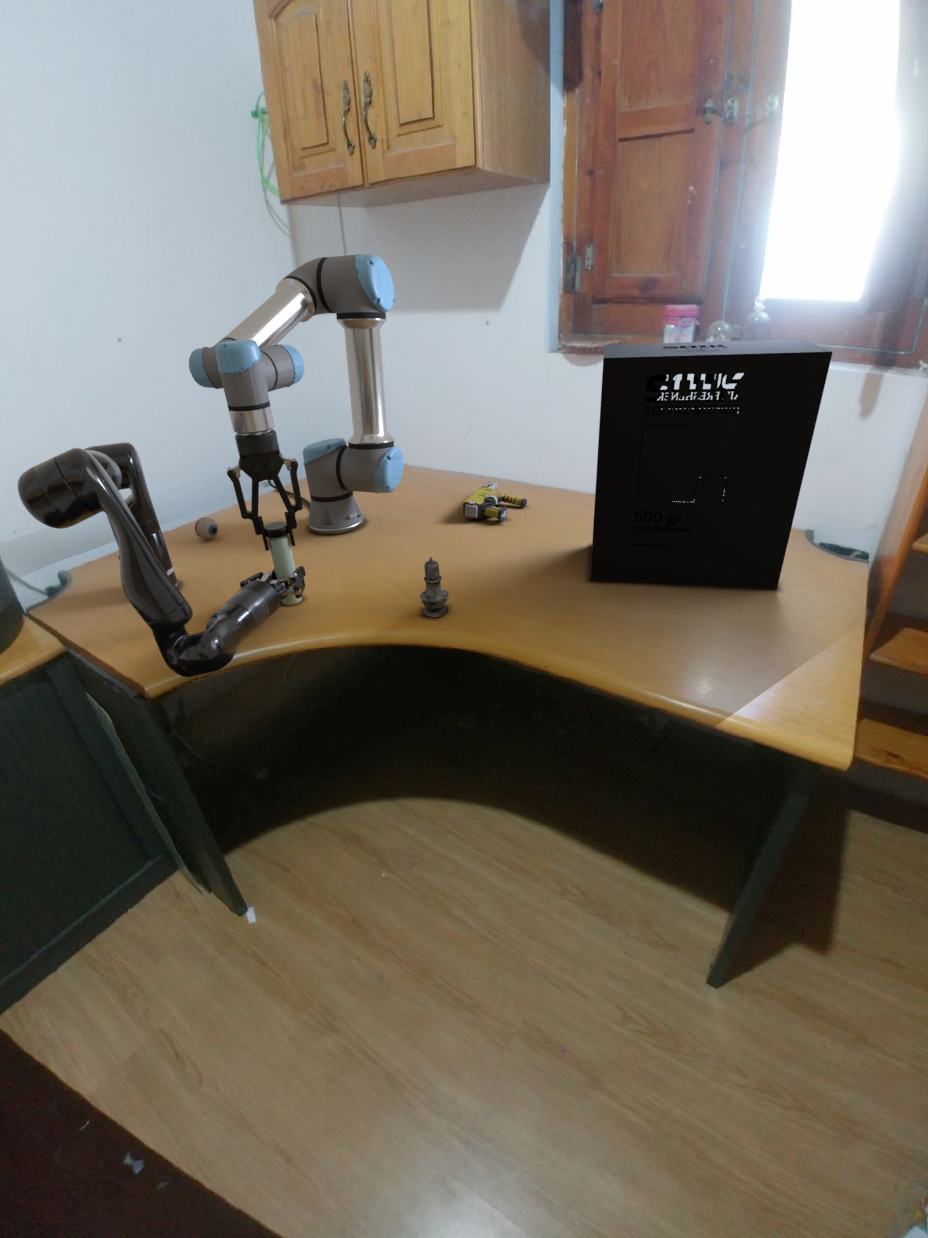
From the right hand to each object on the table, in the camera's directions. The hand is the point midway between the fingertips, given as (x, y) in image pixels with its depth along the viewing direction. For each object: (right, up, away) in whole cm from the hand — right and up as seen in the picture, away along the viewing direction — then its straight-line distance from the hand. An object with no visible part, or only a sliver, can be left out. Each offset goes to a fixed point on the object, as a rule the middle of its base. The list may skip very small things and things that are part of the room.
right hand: (280, 545), depth 125 cm
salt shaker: (+32, -14, -1) cm, 35 cm away
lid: (0, +3, -2) cm, 4 cm away
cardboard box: (+86, -3, +11) cm, 87 cm away
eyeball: (-32, +7, +40) cm, 52 cm away
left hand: (+1, -5, +6) cm, 7 cm away
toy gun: (+48, +17, +50) cm, 71 cm away
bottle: (+1, -11, +6) cm, 13 cm away
